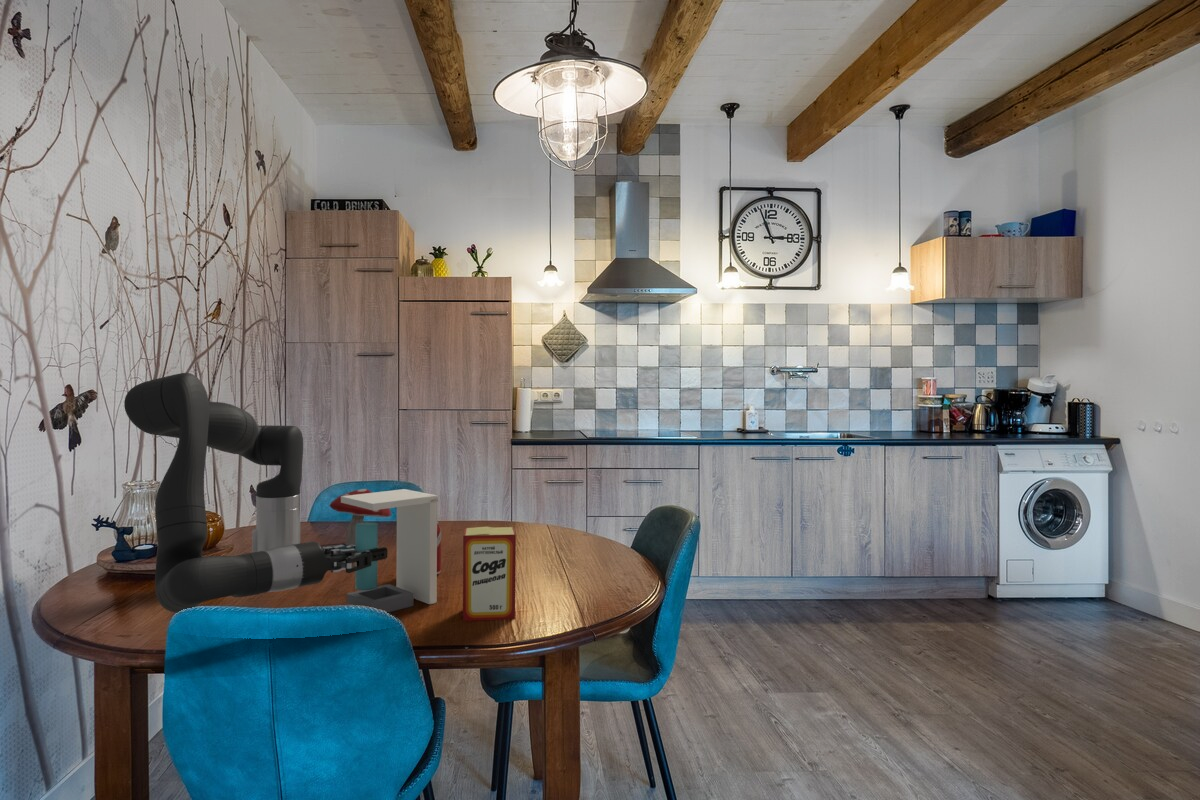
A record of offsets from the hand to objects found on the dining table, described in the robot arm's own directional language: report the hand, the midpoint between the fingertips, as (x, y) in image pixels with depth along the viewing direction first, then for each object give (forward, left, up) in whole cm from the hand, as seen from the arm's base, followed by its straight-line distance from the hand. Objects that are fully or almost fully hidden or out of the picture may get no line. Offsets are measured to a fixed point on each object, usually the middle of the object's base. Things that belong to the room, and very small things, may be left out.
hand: (379, 550), depth 134 cm
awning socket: (+1, +2, -11) cm, 11 cm away
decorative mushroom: (-26, +49, -11) cm, 57 cm away
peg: (-2, -2, -6) cm, 7 cm away
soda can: (+1, +23, -11) cm, 26 cm away
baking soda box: (+22, -2, -11) cm, 25 cm away
